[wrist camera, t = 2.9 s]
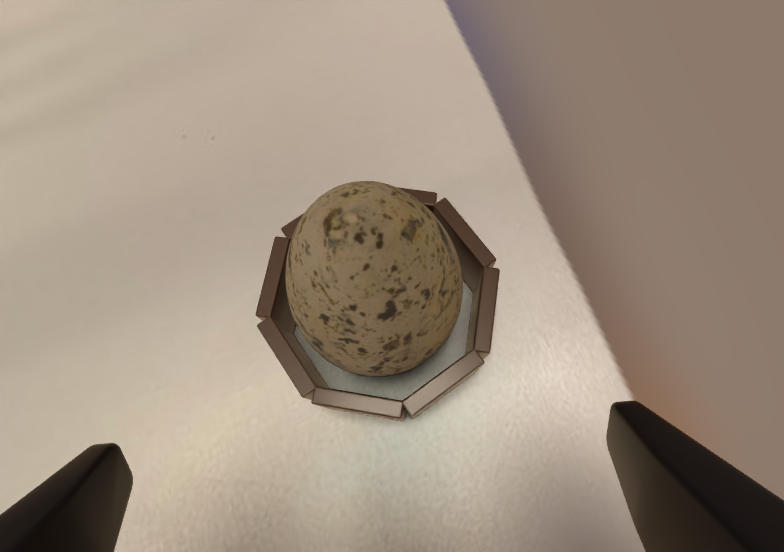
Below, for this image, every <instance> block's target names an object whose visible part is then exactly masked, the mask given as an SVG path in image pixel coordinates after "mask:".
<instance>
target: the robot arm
mask: <svg viewBox="0 0 784 552" xmlns="http://www.w3.org/2000/svg"><path fill="white" fill-rule="evenodd" d="M607 446H608V450H609V453H610V456H611V458H612V461H613V464H614V467H615V470H616V473H617V476H618V479H619V482H620V485H621V488H622V490H623V493H624V496H625V499H626V502H627V505H628V508H629V511H630V514H631V517H632V519H633V522H634V525H635V528H636V530H637V533H638V535H639V537H640V539H641V542H642V544H643V546H644V548H645V551H646V552H784V501H783V500H782V499H780V498H779V497H778V496H776V495H775V494H773V493H772V492H770V491H769V490H767V489H766V488H764V487H763V486H762V485H760V484H758V483H757V482H756V481H754V480H753V479H751V478H750V477H748V476H747V475H745V474H744V473H742V472H741V471H739V470H738V469H736V468H735V467H733V466H732V465H731V464H729V463H728V462H726V461H724V460H723V459H722V458H720V457H719V456H717V455H716V454H714V453H713V452H711V451H710V450H709V449H707V448H706V447H704V446H702V445H701V444H699V443H698V442H697V441H695V440H694V439H692V438H691V437H689V436H688V435H686V434H685V433H683V432H682V431H680V430H679V429H678V428H676V427H675V426H673V425H671V424H670V423H669V422H667V421H666V420H664V419H663V418H661V417H660V416H658V415H657V414H656V413H654V412H653V411H651V410H650V409H648V408H646V407H645V406H644V405H642V404H641V403H638V402H637V401H624V402H615V403H613V404H612V406H611V409H610V415H609V422H608V429H607ZM132 485H133V476H132V472H131V470H130V468H129V466H128V464H127V461H126V459H125V457H124V455H123V453H122V451H121V449H120V447H119V446H118V445H117V444H114V443H107V444H96V445H92V446H90V447H89V448H87V449H86V450H85V451H84V452H82V453H81V454H80V455H78V456H77V457H76V458H74V459H73V460H72V461H70V462H69V463H68V464H66V465H65V466H64V467H63V468H61V469H60V470H59V471H57V472H56V473H55V474H53V475H52V476H51V477H49V478H48V479H47V480H46V481H44V482H43V483H42V484H40V485H39V486H38V487H36V488H35V489H34V490H32V491H31V492H30V493H28V494H27V495H26V496H25V497H23V498H22V499H21V500H19V501H18V502H17V503H15V504H14V505H13V506H11V507H10V508H9V509H8V510H6V511H5V512H4V513H2V514H1V515H0V552H114V549H115V546H116V542H117V539H118V535H119V532H120V528H121V525H122V521H123V518H124V514H125V511H126V507H127V504H128V500H129V497H130V493H131V490H132Z"/></svg>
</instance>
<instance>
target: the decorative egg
mask: <svg viewBox="0 0 784 552" xmlns="http://www.w3.org/2000/svg"><path fill="white" fill-rule="evenodd" d="M462 290H463V282H462V273H461V267H460V263H459V258H458V255H457V252H456V250H455V247H454V245H453V243H452V241H451V239H450V237H449V235H448V233H447V232H446V230H445V229H444V227H443V226H442V224H441V223H440V222H439V220H438V219H437V218H436V217H435V215H434V214H433V213H432V212H431V211H430V210H429V209H428V208H427V207H426V206H425V205H424V204H423V203H421V202H420V201H419V200H418V199H416V198H415V197H413V196H412V195H410V194H408V193H407V192H405V191H403V190H401V189H399V188H397V187H394V186H391V185H388V184H384V183H380V182H374V181H360V182H351V183H347V184H344V185H341V186H338V187H335V188H333V189H331V190H330V191H328V192H326V193H325V194H323V195H322V196H321V197H319V198H318V199H317V200H316V201H315V202H314V203H313V204H312V205H311V206H310V207H309V208H308V209H307V211H306V212H305V213H304V215H303V216H302V218H301V219H300V221H299V223H298V225H297V227H296V229H295V231H294V233H293V236H292V239H291V242H290V245H289V250H288V254H287V261H286V291H287V297H288V302H289V305H290V309H291V312H292V315H293V317H294V320H295V322H296V324H297V326H298V328H299V330H300V331H301V333H302V335H303V336H304V337H305V339H306V340H307V342H308V343H309V344H310V345H311V346H312V347H313V348H314V349H315V350H316V351H317V352H318V353H319V354H320V355H321V356H322V357H324V358H325V359H326V360H328V361H329V362H331V363H332V364H334V365H336V366H338V367H340V368H342V369H344V370H346V371H349V372H352V373H356V374H360V375H365V376H389V375H394V374H398V373H402V372H405V371H408V370H410V369H412V368H414V367H416V366H418V365H420V364H421V363H423V362H424V361H426V360H427V359H429V358H430V357H431V356H432V355H433V354H434V353H436V352H437V351H438V349H439V348H440V347H441V346H442V345H443V344H444V342H445V341H446V339H447V338H448V337H449V335H450V333H451V331H452V330H453V328H454V325H455V323H456V320H457V318H458V315H459V311H460V307H461V301H462Z"/></svg>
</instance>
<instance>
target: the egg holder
mask: <svg viewBox="0 0 784 552" xmlns="http://www.w3.org/2000/svg"><path fill="white" fill-rule="evenodd" d="M399 189H401V190H403V191H405V192H407V193H408V194H410V195H412V196H413V197H415V198H416V199H418V200H419V201H420V202H421V203H423V204H424V205H425V206H426V207H427V208H428V209H429V210H430V211H431V212H432V213H433V214H434V215H435V217H436V218H437V219H438V220H439V222H440V223H441V224H442V226H443V227H444V229H445V230H446V232H447V233H448V235H449V237H450V239H451V241H452V243H453V245H454V247H455V250H456V252H457V255H458V258H459V263H460V267H461V273H462V279H463V280H464V281H465V282H466V284H467V285H468V286H469V287H470V289H471V290H472V291H473V299H472V307H471V315H470V322H469V330H468V338H467V345H466V353H465V355H464V356H463V357H462V358H460V359H459V360H457V361H456V362H455V363H453V364H452V365H451V366H449V367H448V368H447V369H445V370H444V371H442V372H441V373H440V374H438V375H437V376H436V377H434V378H433V379H432V380H430V381H429V382H428V383H426V384H425V385H423V386H422V387H421V388H419V389H418V390H417V391H415V392H414V393H413V394H411V395H410V396H408V397H407V398H406V399H404V400H403V401H400V400H394V399H388V398H382V397H377V396H371V395H365V394H359V393H353V392H347V391H342V390H336V389H330V388H328V386H327V385H326V383H325V382H324V380H323V379H322V377H321V376H320V374H319V372H318V371H317V369H316V368H315V366H314V365H313V363H312V362H311V360H310V359H309V357H308V356H307V354H306V353H305V351H304V350H303V348H302V347H301V345H300V344H299V342H298V340H297V339H296V337H295V336H294V329H295V325H296V322H295V320H294V317H293V315H292V312H291V309H290V305H289V302H288V297H287V291H286V261H287V254H288V250H289V245H290V242H291V239H292V236H293V233H294V231H295V229H296V227H297V225H298V223H299V221H300V219H301V218H302V216H303V215H304V214H302V215H301V216H299V217H298V218H296V219H295V220H293V221H291V222H290V223H288V224H287V225H285V226H284V227H282V228H281V230H282V232H283V233H284V235H285V236H286V238H283V237H275V239H274V243H273V247H272V251H271V255H270V259H269V263H268V267H267V271H266V275H265V279H264V283H263V287H262V291H261V295H260V299H259V303H258V307H257V311H256V316H257V317H259V318H260V319H261V320H263V321H262V322H261V323H259V324H258V325H257V327H258V329H259V330H260V332H261V333H262V335H263V337H264V338H265V340H266V341H267V343H268V344H269V346H270V348H271V349H272V351H273V352H274V354H275V355H276V357H277V359H278V360H279V362H280V363H281V365H282V366H283V368H284V369H285V371H286V373H287V374H288V376H289V377H290V379H291V380H292V382H293V384H294V385H295V387H296V388H297V390H298V391H299V393H300V395H301V396H302V397H303V398H306V399H310V400H312V404H315V405H318V406H322V407H326V408H329V409H335V410H341V411H346V412H352V413H358V414H363V415H369V416H375V417H381V418H386V419H392V420H398V421H404V418H405V411H407V412H408V414H409V415H410V417H411V418H412V419H414V418H415V417H417V416H418V415H419V414H421V413H422V412H423V411H425V410H426V409H427V408H429V407H430V406H431V405H433V404H434V403H435V402H437V401H438V400H440V399H441V398H442V397H444V396H445V395H446V394H448V393H449V392H450V391H452V390H453V389H454V388H456V387H457V386H458V385H460V384H461V383H462V382H464V381H465V380H466V379H468V378H469V377H470V376H472V375H473V374H474V373H475V372H476V371H477V370H478V369H479V368H480V367H481V366H482V365H483V364H484V359H485V357H486V356H487V355H488V354H489V353H490V350H491V341H492V332H493V324H494V315H495V306H496V298H497V289H498V280H499V272H500V270H499V269H498V268H493V266H494V264H495V261H496V258H495V257H494V256H493V254H492V253H491V252H490V251H489V249H488V248H487V247H486V246H485V245H484V243H483V242H482V241H481V240H480V239H479V237H478V236H477V235H476V234H475V233H474V231H473V230H472V229H471V228H470V227H469V225H468V224H467V223H466V222H465V220H464V219H463V218H462V217H461V216H460V214H459V213H458V212H457V211H456V210H455V208H454V207H453V206H452V205H451V204H450V202H449V201H448V200H447V199H446V198H443V199H442V200H441V201H439V202H438V203H436V201H437V193H435V192H427V191H420V190H412V189H405V188H399Z"/></svg>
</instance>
